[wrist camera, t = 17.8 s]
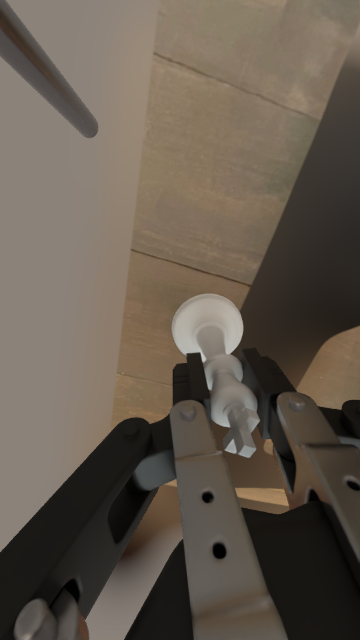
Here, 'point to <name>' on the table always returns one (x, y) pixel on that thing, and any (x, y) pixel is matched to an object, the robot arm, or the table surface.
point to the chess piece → (219, 365)
